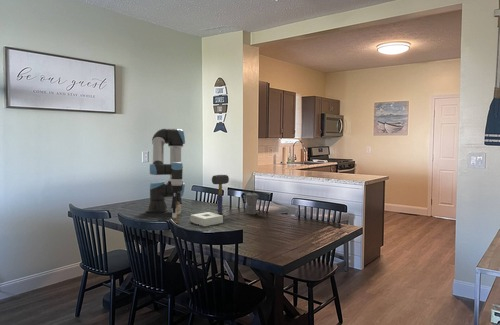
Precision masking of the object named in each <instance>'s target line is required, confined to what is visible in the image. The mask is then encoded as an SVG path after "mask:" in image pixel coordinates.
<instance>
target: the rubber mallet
mask: <svg viewBox="0 0 500 325" xmlns="http://www.w3.org/2000/svg"><path fill="white" fill-rule="evenodd" d="M211 182H212V185H218V195H217V211H216V212H217V213H218V214H222V213H223V185H226V184H228V183H229V182H230V178H229V175H228V174H217V175H216V174H215V175H212V177H211Z"/></svg>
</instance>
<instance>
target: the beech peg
mask: <svg viewBox="0 0 500 325" xmlns="http://www.w3.org/2000/svg"><path fill="white" fill-rule="evenodd" d="M176 208H177V218H173V221H174V222H175V224H179V223H180V219H181V218H180V217H181V214H180V202H177V205H176Z"/></svg>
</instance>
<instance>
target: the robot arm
mask: <svg viewBox="0 0 500 325" xmlns="http://www.w3.org/2000/svg"><path fill="white" fill-rule="evenodd" d="M185 138H186V137H185V131H184V130H183V129H181V128H161V129H159V130H157V131H156V132H155V133H154V134H153V136H152V138H151V143H152V163H151V164H149V174H150V175H153V176H161V175H162V176H164V175H165V176H166V175H168V176H169V179H168V180H167V182H166V180H159V181H154V182H153V181H152V182H151V183H150V184H149V203H148V206H147V212H148V213H154V214H155V213H156V214H157V213H165V212H166V213H167V212H168V206H167V202H166V198H171V199H172V200H171V206H170V209H171V212H172V213H171V217H172V218H173V219H174V218H177V208H176V205H177V202H180V215H181V213H182V204H183V202H182V197H184V194H185V193H184V192H185V184H186V183H185V182H184V180H183V168H184V165H183V162H182V149H183V147H184V145H185V144H186V139H185ZM166 144H167V146H168V148H169V160H170V161H169V163H164V155H165V154H164V149H165V148H164V147H165V145H166Z"/></svg>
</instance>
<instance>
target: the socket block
mask: <svg viewBox="0 0 500 325" xmlns="http://www.w3.org/2000/svg"><path fill="white" fill-rule="evenodd" d="M189 219H190V223H193V224H195V225H198V224H199V225H198V226H202V227H208V226H214V225H218V224H223V223H224V215H221V214H220V213H218V214H217V213H213V212H211V211H207V212H201V213H200V212H199V213H195V214H190V218H189Z"/></svg>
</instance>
